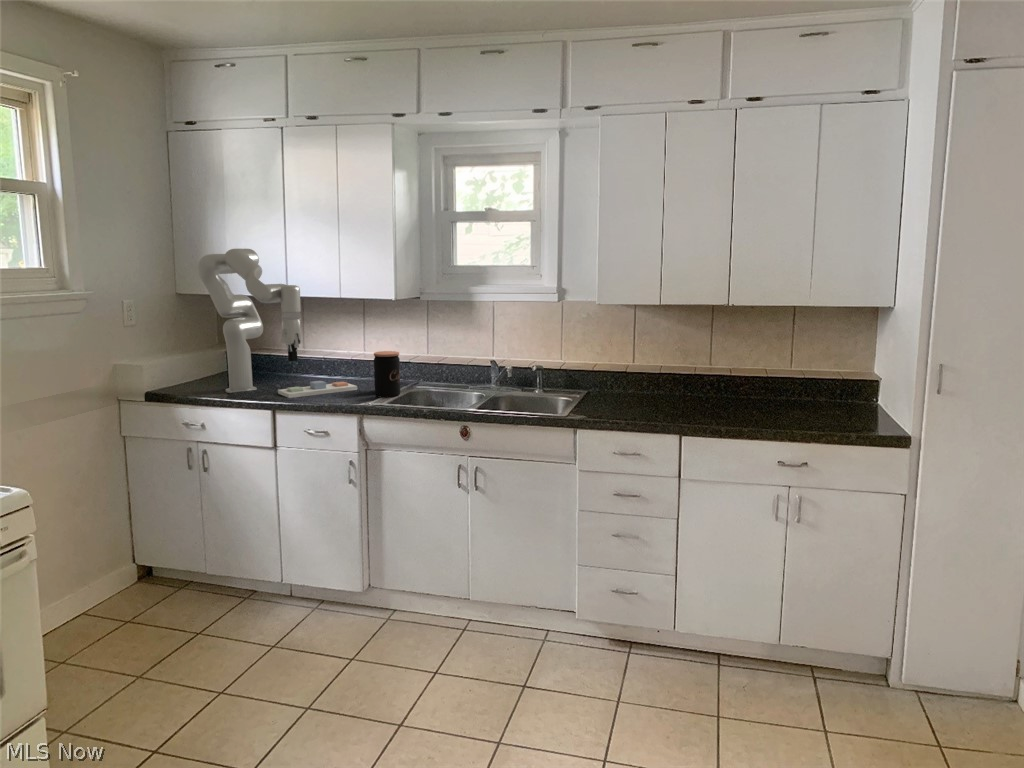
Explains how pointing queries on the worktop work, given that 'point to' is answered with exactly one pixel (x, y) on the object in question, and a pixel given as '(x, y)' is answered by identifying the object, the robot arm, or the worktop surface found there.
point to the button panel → (309, 391)
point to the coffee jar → (387, 373)
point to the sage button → (294, 389)
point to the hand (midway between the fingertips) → (292, 360)
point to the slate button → (317, 385)
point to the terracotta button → (339, 384)
